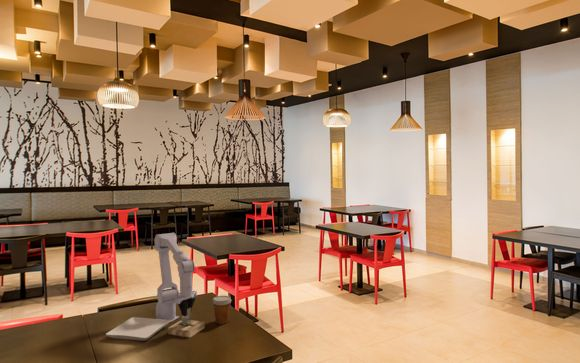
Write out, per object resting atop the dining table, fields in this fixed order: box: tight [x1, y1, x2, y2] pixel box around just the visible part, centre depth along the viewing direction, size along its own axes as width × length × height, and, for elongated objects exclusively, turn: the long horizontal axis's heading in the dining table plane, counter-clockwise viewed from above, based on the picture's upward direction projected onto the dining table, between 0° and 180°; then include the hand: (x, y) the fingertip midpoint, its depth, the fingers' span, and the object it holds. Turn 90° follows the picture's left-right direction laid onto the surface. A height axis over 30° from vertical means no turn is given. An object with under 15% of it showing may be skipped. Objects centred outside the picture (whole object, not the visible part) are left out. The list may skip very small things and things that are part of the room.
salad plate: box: [105, 316, 171, 342], centre depth 184 cm, size 21×21×3 cm
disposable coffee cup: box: [212, 295, 232, 325], centre depth 197 cm, size 10×10×12 cm
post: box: [181, 307, 192, 324], centre depth 186 cm, size 3×3×7 cm
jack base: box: [167, 319, 205, 339], centre depth 186 cm, size 12×12×4 cm
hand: (186, 314), depth 186 cm, fingers closed on post, 3 cm apart
